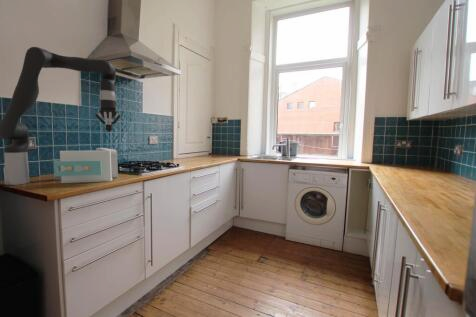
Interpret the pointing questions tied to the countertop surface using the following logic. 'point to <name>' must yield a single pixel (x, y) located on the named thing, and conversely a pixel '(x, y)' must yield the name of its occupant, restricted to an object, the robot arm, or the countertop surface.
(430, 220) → the countertop surface
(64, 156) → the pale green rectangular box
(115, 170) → the rounded white slab
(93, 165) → the panel
